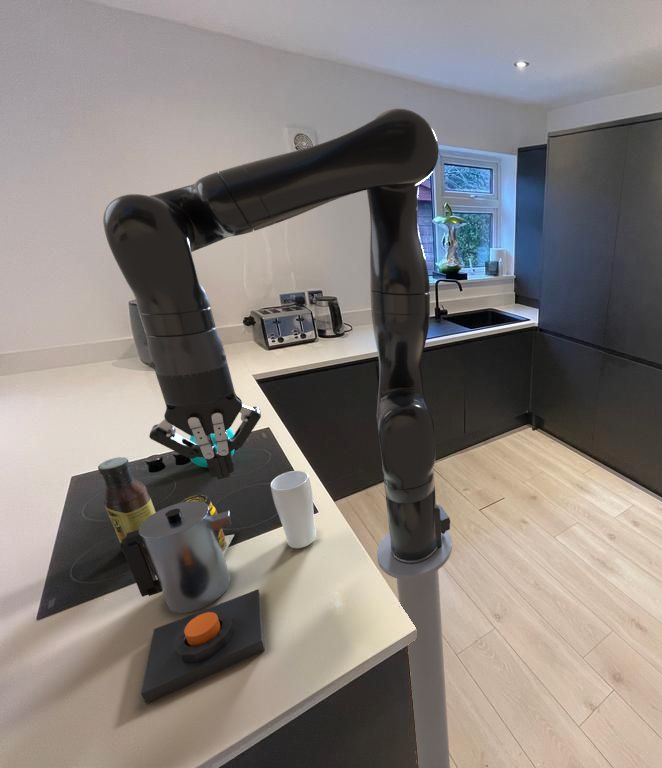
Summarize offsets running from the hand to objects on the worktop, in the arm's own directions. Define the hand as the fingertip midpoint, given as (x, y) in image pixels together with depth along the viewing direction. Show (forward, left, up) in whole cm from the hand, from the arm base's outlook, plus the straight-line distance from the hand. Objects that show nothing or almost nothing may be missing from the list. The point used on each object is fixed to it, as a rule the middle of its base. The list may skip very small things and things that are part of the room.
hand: (224, 475), depth 58 cm
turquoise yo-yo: (+8, -60, -27) cm, 66 cm away
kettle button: (+7, +4, -23) cm, 25 cm away
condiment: (+9, -21, -27) cm, 36 cm away
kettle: (+9, -10, -27) cm, 30 cm away
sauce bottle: (+19, -29, -27) cm, 44 cm away
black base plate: (+7, +3, -27) cm, 28 cm away
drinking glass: (-8, -14, -27) cm, 32 cm away
